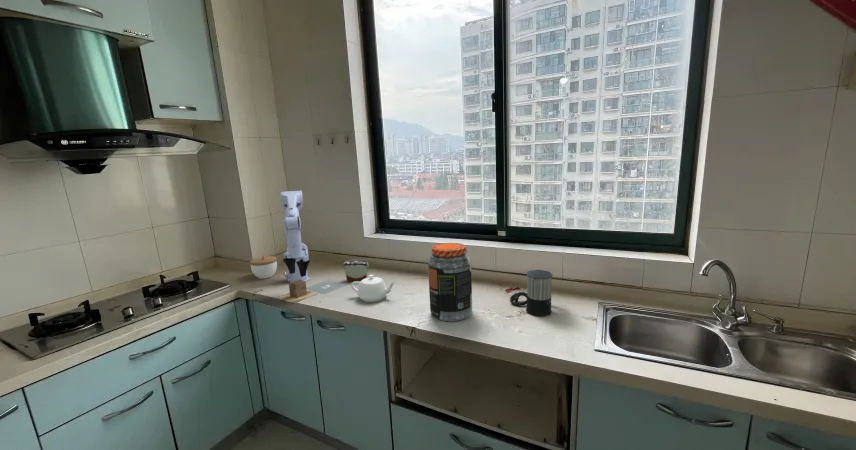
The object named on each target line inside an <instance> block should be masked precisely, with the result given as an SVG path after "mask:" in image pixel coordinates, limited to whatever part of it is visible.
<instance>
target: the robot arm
mask: <svg viewBox="0 0 856 450" xmlns="http://www.w3.org/2000/svg"><path fill="white" fill-rule="evenodd" d="M279 197H280V203H281V206H282V209H283V210H284V219H283V228H284V232H285V235H286V243H287V248H286V252H283V259H282V261H283V263H284V264H285V266H286V269H287V278H288V279H287V280H286V281H287V282H289V283H290V282H292V281H295V280H298V279H299V280H303V281H306V282H308V281H310V280H311V281H312V279H313V278H312V277H309V276H308V266H309V264H310V261H311V259H310V258H309V250H308V246H307V245H306V244H305V243H303V242H302V234H301V229H302V225H301V224H302V223H301V217H300V213H299V211H300V210H301V209H303V206H304V198H303V197H304V196H303V191H302V190H291V191H281V192H280V195H279Z"/></svg>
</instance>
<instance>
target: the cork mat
mask: <svg viewBox="0 0 856 450" xmlns="http://www.w3.org/2000/svg"><path fill="white" fill-rule="evenodd" d="M318 294H319V293H317V292H314V291H310V290H307V294H306V295H304V296H301V297H299V298H295V297H292V296H290V292H288V293H285V294H283V295H281V296H277V300H282V301H285V302H288V303H291V304H294V305H295V304H297V303H299V302H302V301H304V300H306V299H309V298H311V297H313V296H317V295H318Z"/></svg>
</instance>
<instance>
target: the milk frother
mask: <svg viewBox="0 0 856 450" xmlns="http://www.w3.org/2000/svg"><path fill="white" fill-rule="evenodd" d="M526 277H527V278H526V282H527V283H526V285H527V286H526V292H524V291H520V292H519V291H518V292H515V293H514V294H511V296H510V298H509V301H510V302H509V303H511V305H512V304H513V306H519V307H522V306H526V308H525V311H526V313H527V314H529V315H530V316H534V315H535V316H534V317H548V316H550V315H551V314H552V313H553V312H552V279H553V278H552V277H553V273H552V272H551V271H549V270H544V269H531V270H528V271H527V272H526ZM520 297H524V298H526V300H525V301H523V302H519V299H520ZM547 315H548V316H547Z"/></svg>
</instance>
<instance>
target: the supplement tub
mask: <svg viewBox="0 0 856 450" xmlns="http://www.w3.org/2000/svg"><path fill="white" fill-rule="evenodd" d="M427 261H428V262H427V269H428V288H429V289H428V290H429V291H428V292H429V310H430V314H431V315H432V317H433V318H435V319H437V320H439V321H445V322H459V321H462V320H465V319H467V318H468V317H470V315H472V313H473V287H472V286H473V285H472V284H473V283H472V282H473V281H472V280H473V279H472V261H471V257H470V256H469V255H468V252H467V245H465V244H463V243H461V242H460V243H459V242H443V243H442V242H441V243H438V244H434V245H432V247H431V256H430V257H429V259H428V260H427Z"/></svg>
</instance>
